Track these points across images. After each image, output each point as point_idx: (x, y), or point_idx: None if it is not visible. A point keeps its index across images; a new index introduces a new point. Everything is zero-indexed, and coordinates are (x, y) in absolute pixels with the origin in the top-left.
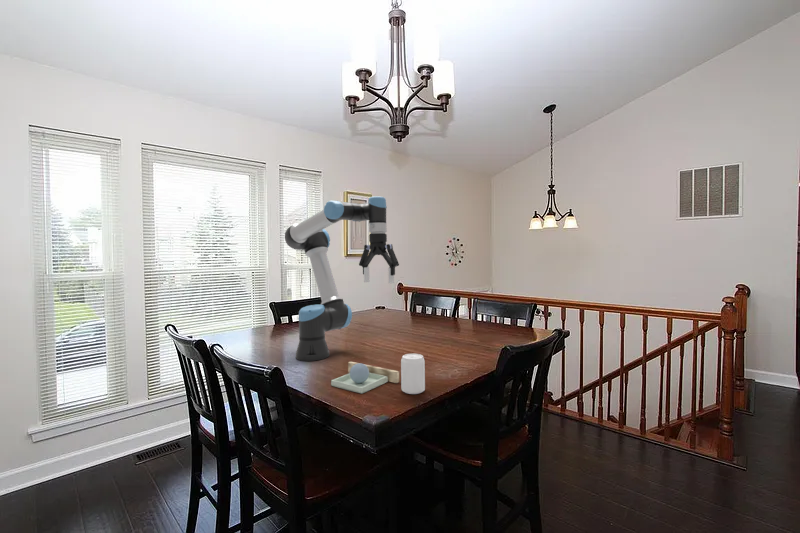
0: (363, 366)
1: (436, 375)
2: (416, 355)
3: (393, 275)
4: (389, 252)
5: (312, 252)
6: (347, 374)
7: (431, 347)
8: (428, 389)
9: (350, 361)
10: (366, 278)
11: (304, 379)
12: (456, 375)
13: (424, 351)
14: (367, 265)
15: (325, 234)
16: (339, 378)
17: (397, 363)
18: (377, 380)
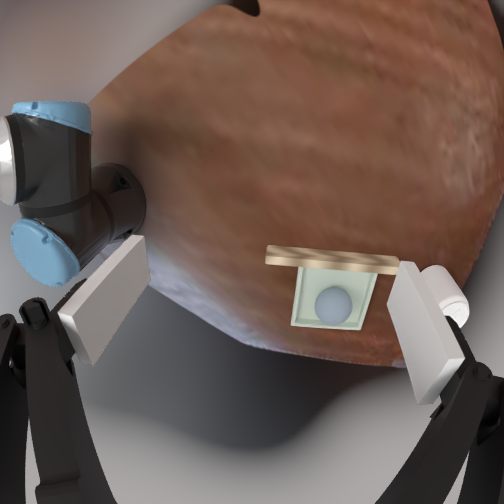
0: (346, 317)
1: (449, 189)
2: (456, 306)
3: (434, 304)
4: None
5: None
6: (297, 293)
7: None
8: (450, 264)
9: (266, 256)
10: (135, 284)
11: (224, 314)
12: (480, 174)
13: (335, 4)
14: (57, 340)
15: None
16: (296, 312)
17: (334, 140)
18: (369, 295)
